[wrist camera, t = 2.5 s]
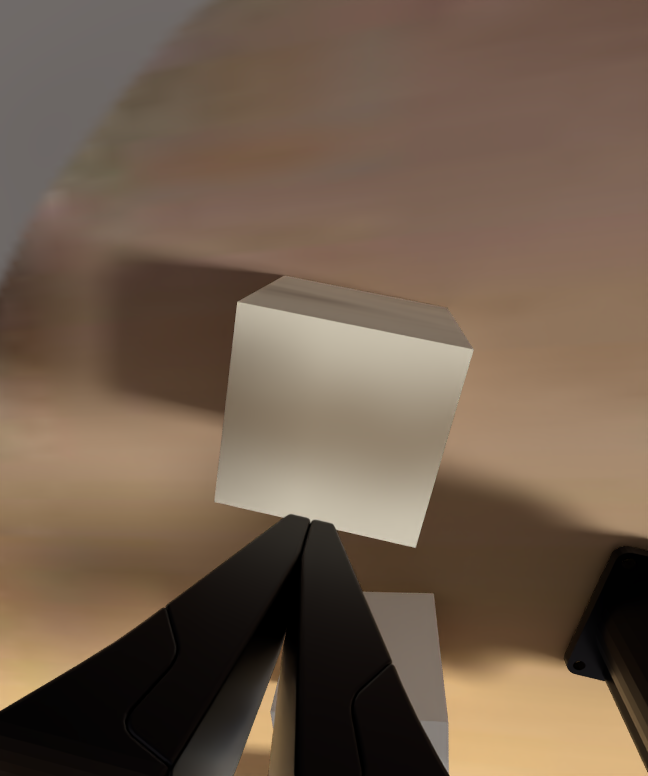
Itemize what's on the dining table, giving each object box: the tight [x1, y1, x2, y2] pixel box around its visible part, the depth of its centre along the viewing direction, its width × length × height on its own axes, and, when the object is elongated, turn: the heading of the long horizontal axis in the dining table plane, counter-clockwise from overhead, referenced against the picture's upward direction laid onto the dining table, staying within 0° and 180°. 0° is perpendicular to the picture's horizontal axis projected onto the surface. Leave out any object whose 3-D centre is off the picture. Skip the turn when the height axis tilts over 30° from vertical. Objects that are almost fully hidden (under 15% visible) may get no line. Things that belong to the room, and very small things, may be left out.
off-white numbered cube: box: [270, 592, 449, 774], centre depth 20 cm, size 6×6×6 cm
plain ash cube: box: [214, 275, 474, 548], centre depth 16 cm, size 6×6×6 cm
